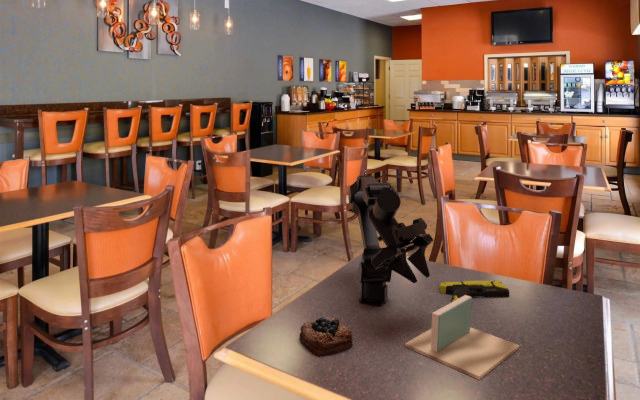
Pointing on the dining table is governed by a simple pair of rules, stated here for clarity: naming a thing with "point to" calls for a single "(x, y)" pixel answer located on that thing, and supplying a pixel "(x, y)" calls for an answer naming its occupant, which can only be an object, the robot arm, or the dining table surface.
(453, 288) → the stun gun
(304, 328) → the pastry
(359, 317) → the dining table surface
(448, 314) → the tile
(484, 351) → the board
